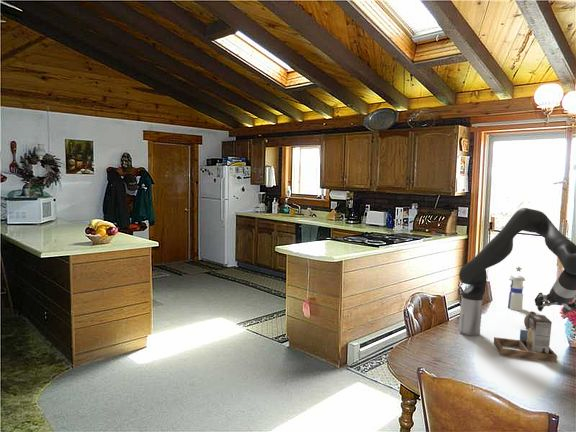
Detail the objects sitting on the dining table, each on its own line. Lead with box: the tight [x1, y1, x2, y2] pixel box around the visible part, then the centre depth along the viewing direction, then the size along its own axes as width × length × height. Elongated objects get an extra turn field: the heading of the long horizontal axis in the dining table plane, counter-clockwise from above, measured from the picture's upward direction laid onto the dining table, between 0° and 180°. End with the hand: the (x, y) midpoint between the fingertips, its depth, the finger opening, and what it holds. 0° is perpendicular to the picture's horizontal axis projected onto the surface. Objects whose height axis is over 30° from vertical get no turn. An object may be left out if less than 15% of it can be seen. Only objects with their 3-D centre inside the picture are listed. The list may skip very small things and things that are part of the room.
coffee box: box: [526, 313, 553, 354], centre depth 179 cm, size 9×6×16 cm
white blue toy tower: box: [507, 266, 526, 312], centre depth 248 cm, size 8×9×25 cm
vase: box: [523, 310, 537, 330], centre depth 213 cm, size 7×7×9 cm
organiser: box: [493, 328, 558, 364], centre depth 181 cm, size 21×14×8 cm, turn 75°
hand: (551, 310), depth 166 cm, fingers open, 8 cm apart
